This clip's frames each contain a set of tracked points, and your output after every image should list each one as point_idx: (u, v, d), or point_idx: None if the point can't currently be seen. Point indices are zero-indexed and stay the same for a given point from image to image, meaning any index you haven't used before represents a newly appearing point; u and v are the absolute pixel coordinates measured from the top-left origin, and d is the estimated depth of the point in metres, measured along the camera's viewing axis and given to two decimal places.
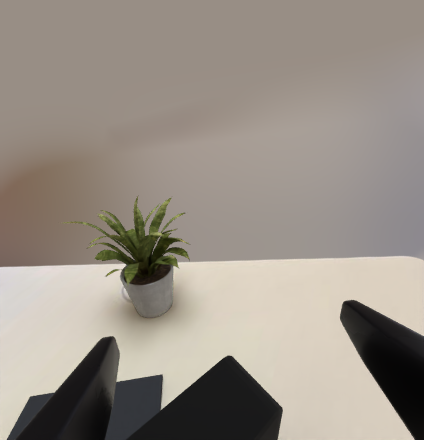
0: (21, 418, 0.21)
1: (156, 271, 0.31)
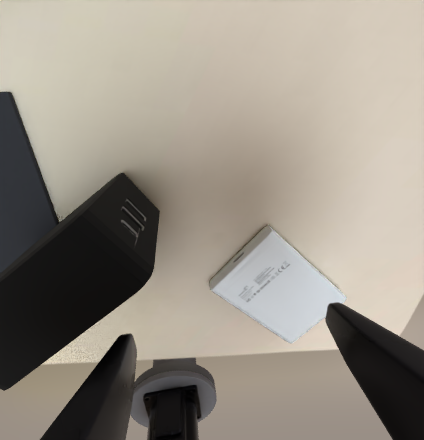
0: None
1: None
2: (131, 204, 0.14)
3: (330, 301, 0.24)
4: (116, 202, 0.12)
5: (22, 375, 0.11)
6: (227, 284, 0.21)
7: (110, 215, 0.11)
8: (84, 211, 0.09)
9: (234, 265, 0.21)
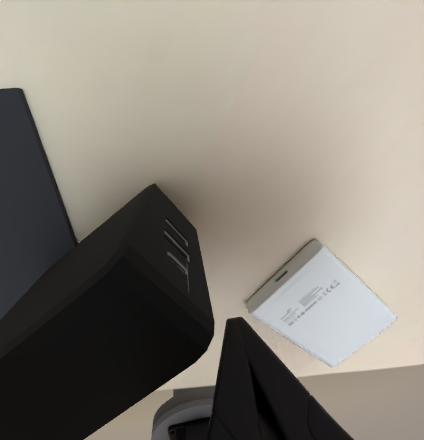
0: None
1: None
2: (170, 225, 0.11)
3: (380, 321, 0.21)
4: (157, 227, 0.09)
5: None
6: (269, 307, 0.19)
7: (155, 248, 0.08)
8: (125, 249, 0.06)
9: (277, 285, 0.18)
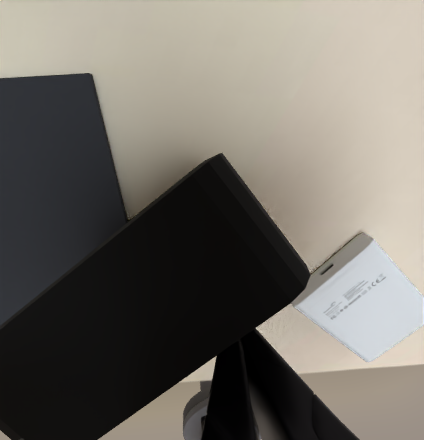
0: None
1: None
2: None
3: (420, 317, 0.21)
4: None
5: None
6: (314, 300, 0.19)
7: None
8: (219, 154, 0.06)
9: (323, 278, 0.18)
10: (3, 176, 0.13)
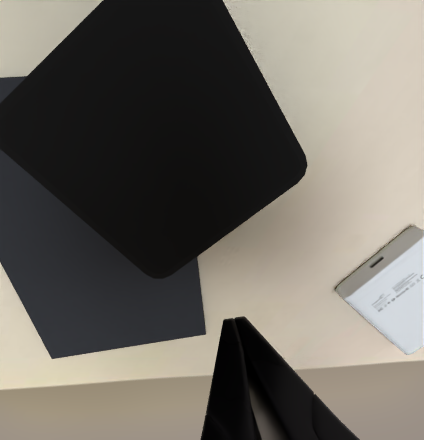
0: None
1: None
2: None
3: None
4: None
5: (13, 92, 0.08)
6: (364, 292, 0.19)
7: None
8: None
9: (374, 271, 0.19)
10: None
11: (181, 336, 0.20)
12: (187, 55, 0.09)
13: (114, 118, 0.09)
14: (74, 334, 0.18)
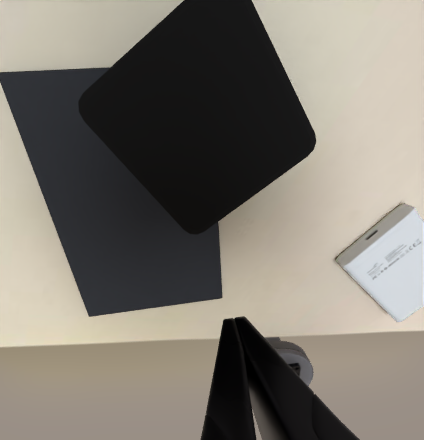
0: (15, 107, 0.15)
1: None
2: None
3: None
4: None
5: (99, 78, 0.11)
6: (360, 261, 0.22)
7: None
8: None
9: (369, 242, 0.22)
10: None
11: (201, 299, 0.23)
12: (229, 52, 0.11)
13: (171, 100, 0.12)
14: (110, 294, 0.21)
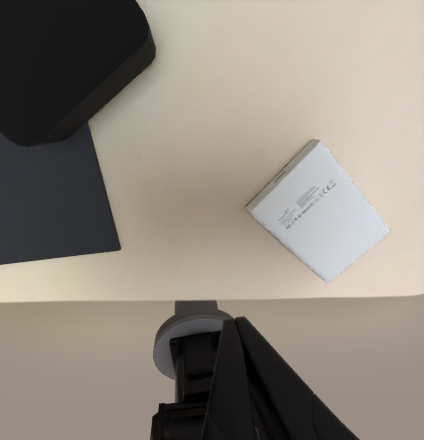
0: None
1: None
2: None
3: (374, 232, 0.22)
4: None
5: None
6: (267, 205, 0.20)
7: None
8: None
9: (276, 183, 0.19)
10: None
11: (95, 251, 0.21)
12: None
13: None
14: None
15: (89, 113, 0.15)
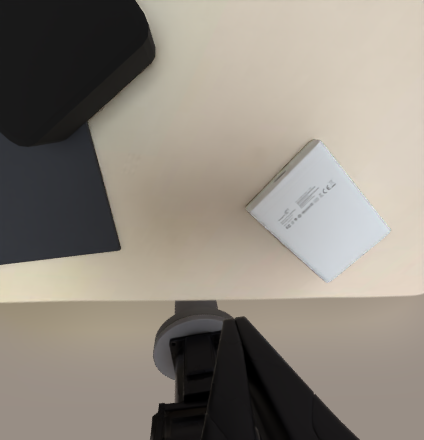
0: None
1: None
2: None
3: (374, 232, 0.22)
4: None
5: None
6: (267, 205, 0.20)
7: None
8: None
9: (276, 183, 0.19)
10: None
11: (94, 251, 0.21)
12: None
13: None
14: None
15: (89, 113, 0.15)
